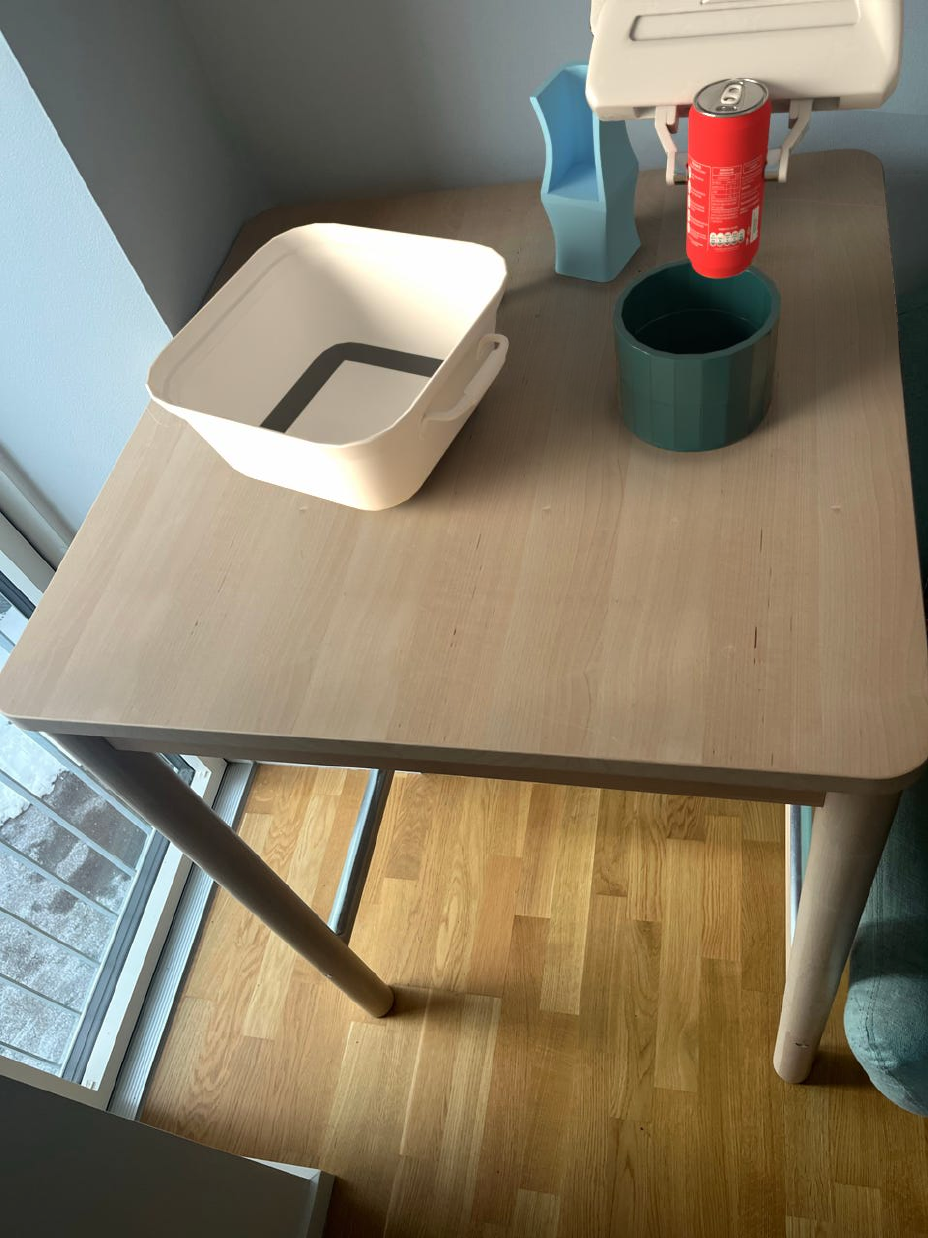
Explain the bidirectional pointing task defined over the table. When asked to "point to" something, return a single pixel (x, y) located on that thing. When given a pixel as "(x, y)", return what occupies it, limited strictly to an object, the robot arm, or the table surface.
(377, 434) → the white storage bin
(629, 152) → the vase
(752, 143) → the beverage can
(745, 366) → the enamel pot
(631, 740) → the table surface
